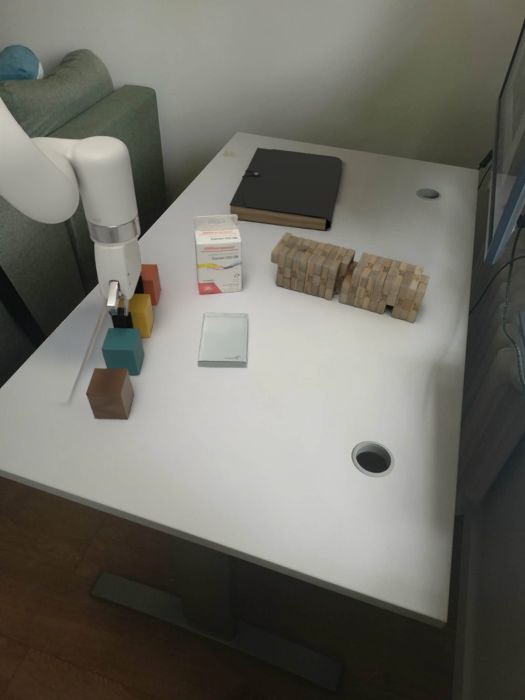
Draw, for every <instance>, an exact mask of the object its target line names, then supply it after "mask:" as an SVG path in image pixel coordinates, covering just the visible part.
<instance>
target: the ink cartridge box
mask: <svg viewBox="0 0 525 700" xmlns="http://www.w3.org/2000/svg"><path fill="white" fill-rule="evenodd" d="M215 220H216V221H218V222H219V221H220V222H221V221H222V222H221V223H220V222H219V223H210V222H214V221H215ZM193 222H194V223H193V224H194V231H193V236H194V237H193V238H194V249H195V250H194V252H195V265H196V281H197V287H198V294H199V295H210V294H211V295H212V294H224V293H239V292H242V290H243V289H242V288H243V284H242V283H243V280H242V279H243V278H242V277H243V242H242V237H241V234H240V229H239V228H238V225H239V224H238V222H239V220H238V216H237V215H236V214H233V215H230V214H216V215H215V214H214V215H213V214H211V215H196V216H194V218H193Z"/></svg>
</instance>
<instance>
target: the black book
mask: <svg viewBox="0 0 525 700" xmlns="http://www.w3.org/2000/svg"><path fill="white" fill-rule="evenodd" d="M342 166H343V160H342V159H341V158H340V157H338V156H333V155H324V154H316V153H309V152H301V151H292V150H284V149H277V148H264V147H256V150H255V151H254V154H253V156H252V158H251V160H250V162H249V164H248V166H247V168H246V169H245V171H244V173H243V175H242V178H241V181H240V182H239V185H238V186H237V188H236V190H235V192H234V194H233V197H232V198H231V200H230V202H229V208H230V210H229V212H230V214H229V215H233V214H236V215H237V216H238V221H245V222H253V223H260V224H268V225H276V226H283V227H289V228H290V227H291V228H299V229H306V230H313V231H320V232H324V231H327V230H329V229H330V228H331V227H332V221H333V216H334V211H335V205H336V199H337V194H338V189H339V183H340V178H341V172H342Z"/></svg>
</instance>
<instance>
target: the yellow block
mask: <svg viewBox="0 0 525 700" xmlns="http://www.w3.org/2000/svg"><path fill="white" fill-rule="evenodd" d="M120 296H124V295H123V293H122V292H121V294H120ZM118 307H121V308H124V300H118ZM129 312H131V316H132V321H133V326H134V329H139V331H140V336H141V339H142V338H143V339H150V337H151V334H152V329H153V325H154V322H155V316H154V310H153V305H152V304H151V299H150V294H133V296H132V298H131V299H129Z"/></svg>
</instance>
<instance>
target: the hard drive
mask: <svg viewBox="0 0 525 700" xmlns="http://www.w3.org/2000/svg"><path fill="white" fill-rule="evenodd" d="M248 327H249V314H248V313H244V312H204V313H203V317H202V325H201V331H200V339H199V347H198V356H197V367H199V368H232V369H233V368H234V369H235V368H237V369H239V368H240V369H244V368H247V364H248V363H247V361H248V360H247V359H248V329H249V328H248Z"/></svg>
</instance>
